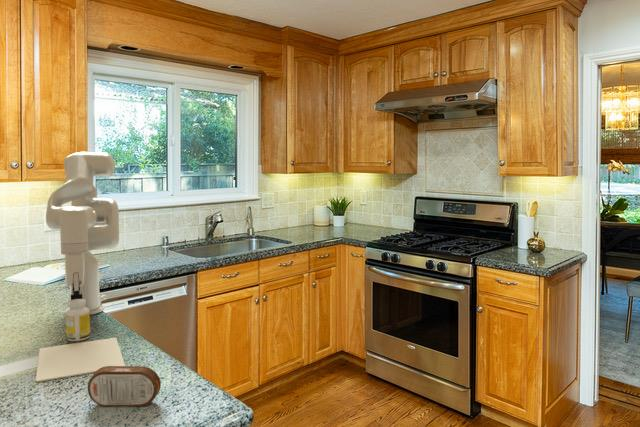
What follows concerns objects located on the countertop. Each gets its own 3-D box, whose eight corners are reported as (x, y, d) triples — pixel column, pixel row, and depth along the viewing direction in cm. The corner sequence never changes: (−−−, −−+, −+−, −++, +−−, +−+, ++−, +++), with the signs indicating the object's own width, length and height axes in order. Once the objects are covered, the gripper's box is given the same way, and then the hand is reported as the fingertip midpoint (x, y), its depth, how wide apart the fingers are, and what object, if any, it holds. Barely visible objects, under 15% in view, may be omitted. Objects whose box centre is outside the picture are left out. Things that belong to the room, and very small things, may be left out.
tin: (161, 401, 108) (160, 364, 107) (157, 408, 105) (156, 370, 104) (92, 402, 107) (91, 364, 106) (86, 409, 104) (84, 370, 103)
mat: (39, 349, 138) (39, 348, 138) (116, 338, 147) (116, 337, 147) (35, 382, 116) (35, 380, 116) (125, 367, 126) (125, 365, 126)
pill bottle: (94, 334, 150) (92, 297, 149) (84, 342, 144) (83, 303, 143) (72, 334, 150) (71, 297, 149) (62, 342, 144) (60, 303, 143)
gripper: (61, 246, 155) (63, 302, 156) (60, 252, 141) (63, 314, 143) (87, 244, 158) (89, 300, 159) (89, 250, 145) (91, 311, 146)
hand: (76, 306), depth 151 cm, fingers closed
